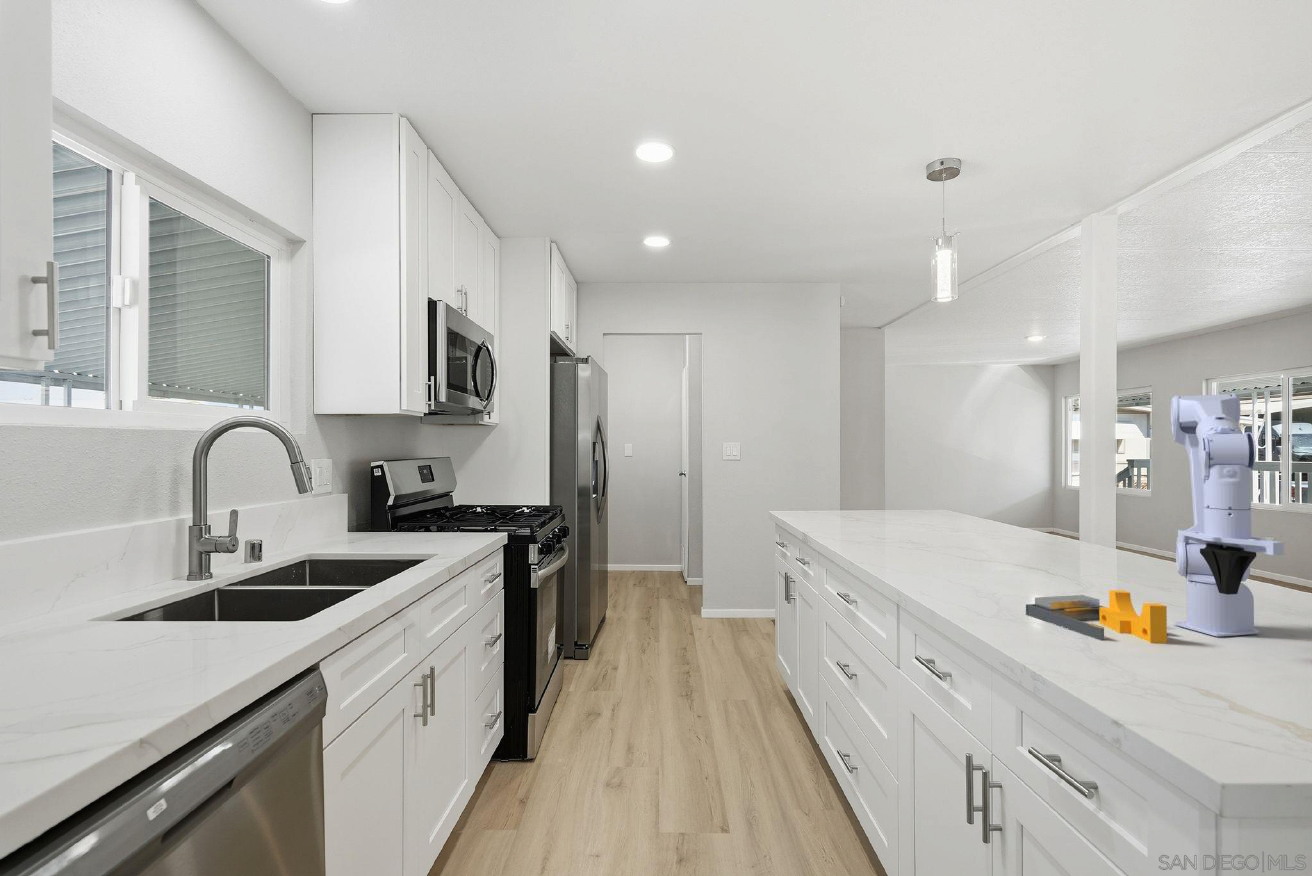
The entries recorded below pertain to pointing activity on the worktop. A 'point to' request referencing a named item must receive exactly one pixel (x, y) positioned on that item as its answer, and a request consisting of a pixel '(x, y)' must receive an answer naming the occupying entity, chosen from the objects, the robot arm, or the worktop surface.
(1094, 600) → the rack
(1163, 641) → the notched yellow bracket
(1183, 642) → the worktop surface
